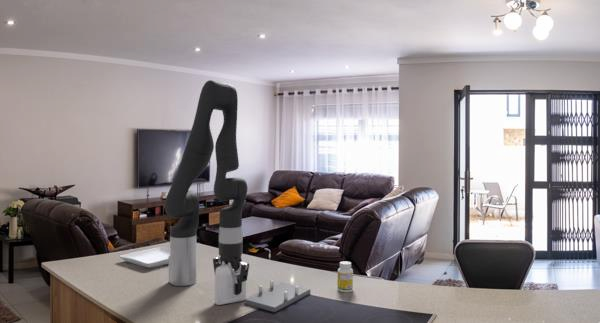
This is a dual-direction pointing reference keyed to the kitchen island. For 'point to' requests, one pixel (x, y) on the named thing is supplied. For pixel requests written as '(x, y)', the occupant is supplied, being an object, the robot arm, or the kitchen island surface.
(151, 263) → the salad plate
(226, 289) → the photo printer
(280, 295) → the pin tray
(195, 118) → the robot arm
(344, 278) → the supplement bottle
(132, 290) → the kitchen island surface
